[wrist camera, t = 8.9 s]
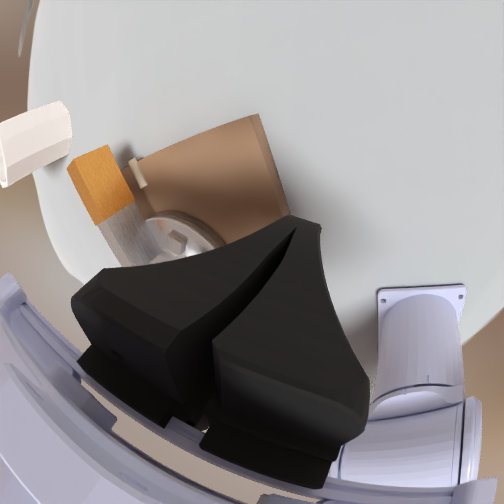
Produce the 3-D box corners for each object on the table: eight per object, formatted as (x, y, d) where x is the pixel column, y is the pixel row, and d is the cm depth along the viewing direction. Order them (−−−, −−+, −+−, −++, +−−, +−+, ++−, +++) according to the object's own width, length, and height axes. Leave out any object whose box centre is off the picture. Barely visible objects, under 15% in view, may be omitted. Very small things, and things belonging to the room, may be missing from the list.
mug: (74, 106, 23) (2, 133, 15) (72, 166, 28) (12, 200, 21) (37, 92, 24) (-18, 113, 16) (37, 142, 29) (-12, 167, 22)
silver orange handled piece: (262, 311, 25) (237, 357, 21) (178, 312, 31) (152, 345, 27) (158, 109, 17) (101, 125, 13) (92, 168, 24) (51, 190, 20)
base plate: (322, 339, 26) (318, 352, 25) (171, 322, 37) (164, 330, 36) (256, 107, 16) (245, 110, 15) (95, 180, 28) (84, 186, 26)
